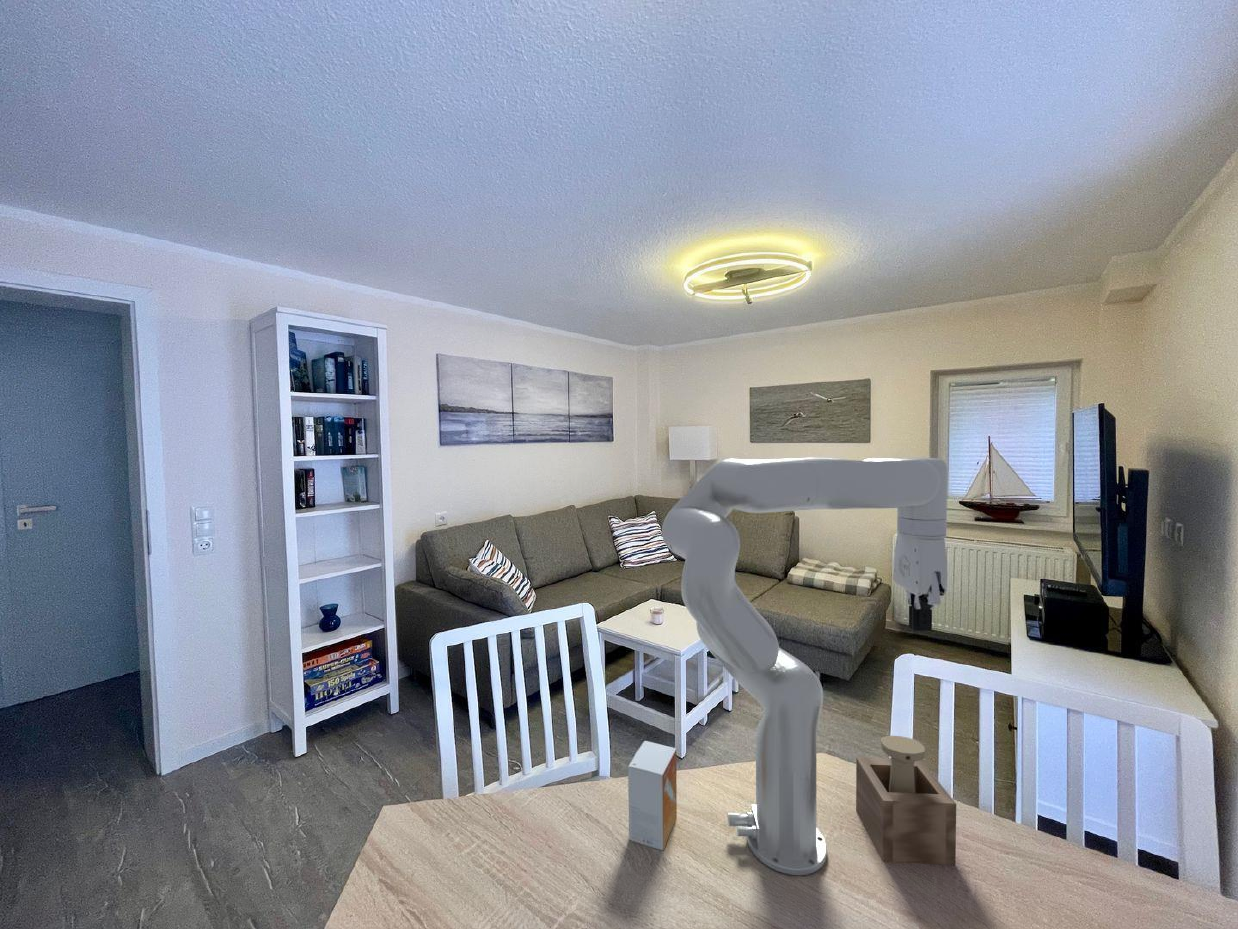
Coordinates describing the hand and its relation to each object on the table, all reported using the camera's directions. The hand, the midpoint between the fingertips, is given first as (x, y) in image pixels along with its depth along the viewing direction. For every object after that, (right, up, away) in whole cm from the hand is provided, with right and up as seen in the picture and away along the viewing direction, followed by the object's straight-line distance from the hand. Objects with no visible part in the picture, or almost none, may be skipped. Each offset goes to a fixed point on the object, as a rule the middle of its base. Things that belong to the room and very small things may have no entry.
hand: (920, 628), depth 90 cm
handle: (-6, -33, -5) cm, 34 cm away
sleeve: (-6, -34, -5) cm, 34 cm away
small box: (-48, -34, -2) cm, 59 cm away
